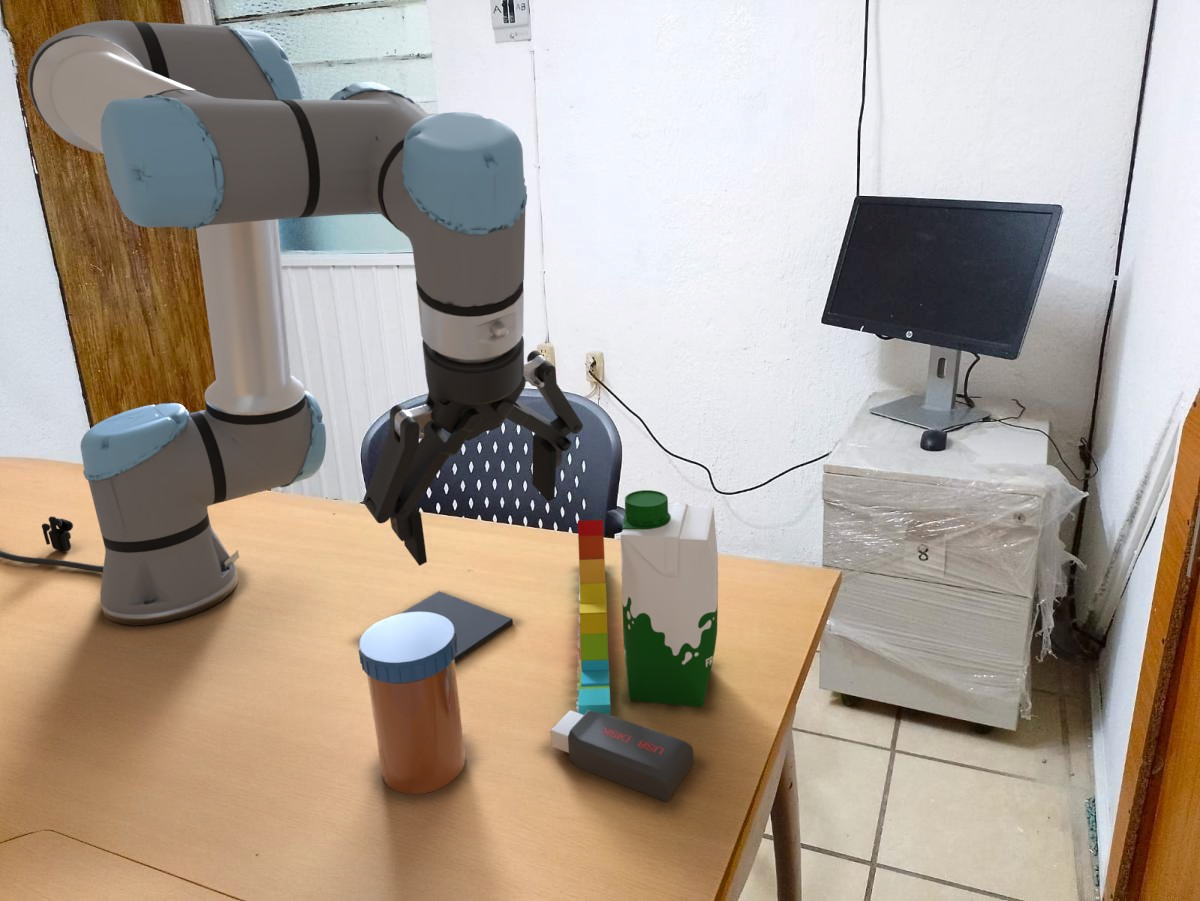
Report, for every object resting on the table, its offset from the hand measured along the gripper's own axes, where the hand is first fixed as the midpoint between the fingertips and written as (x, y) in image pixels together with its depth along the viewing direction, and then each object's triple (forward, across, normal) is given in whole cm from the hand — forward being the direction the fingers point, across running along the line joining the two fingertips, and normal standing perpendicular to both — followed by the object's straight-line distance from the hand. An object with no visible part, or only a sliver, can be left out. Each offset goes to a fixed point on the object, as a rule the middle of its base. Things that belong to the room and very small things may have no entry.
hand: (482, 521), depth 76 cm
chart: (+20, +10, -6) cm, 23 cm away
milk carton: (+15, +11, -17) cm, 26 cm away
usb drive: (+11, 0, -22) cm, 25 cm away
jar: (+13, -13, -12) cm, 22 cm away
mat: (+22, -3, +6) cm, 23 cm away
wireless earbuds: (+39, -36, +57) cm, 77 cm away
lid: (+2, -11, -6) cm, 13 cm away
